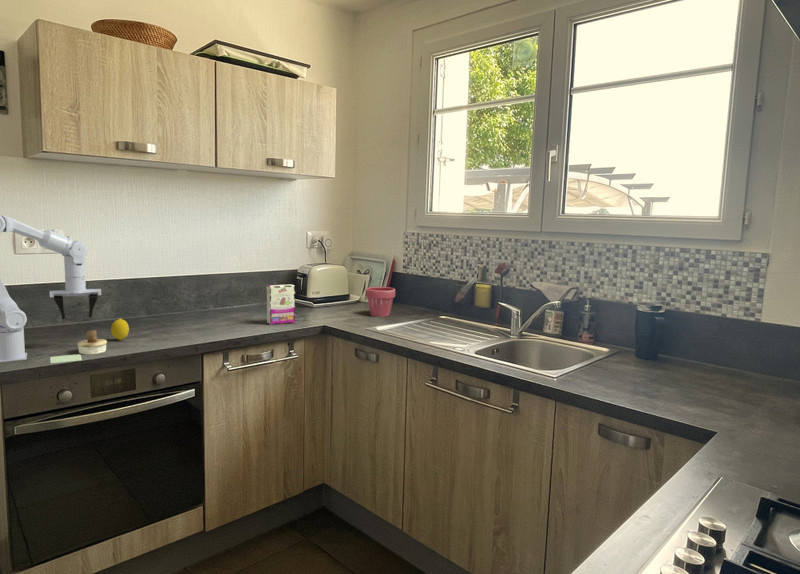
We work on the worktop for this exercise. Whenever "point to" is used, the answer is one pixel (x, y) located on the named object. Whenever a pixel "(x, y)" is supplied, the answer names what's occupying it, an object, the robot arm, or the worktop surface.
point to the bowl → (92, 349)
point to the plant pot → (380, 300)
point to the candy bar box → (280, 304)
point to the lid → (92, 340)
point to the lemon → (120, 329)
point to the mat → (65, 358)
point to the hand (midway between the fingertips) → (77, 317)
